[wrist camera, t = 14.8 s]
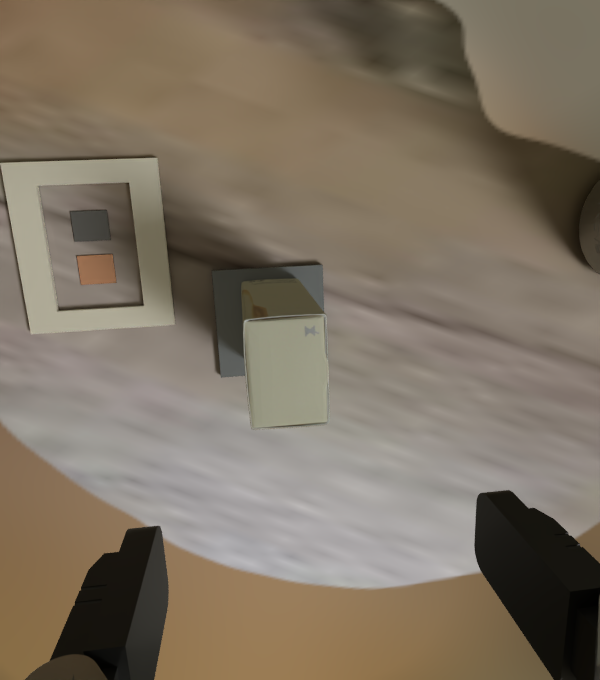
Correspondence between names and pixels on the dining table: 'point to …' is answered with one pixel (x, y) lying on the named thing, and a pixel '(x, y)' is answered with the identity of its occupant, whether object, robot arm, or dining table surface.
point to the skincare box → (284, 355)
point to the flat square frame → (89, 227)
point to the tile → (231, 306)
